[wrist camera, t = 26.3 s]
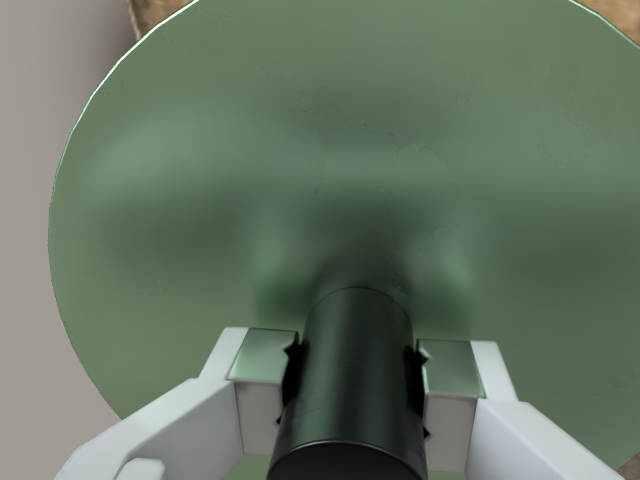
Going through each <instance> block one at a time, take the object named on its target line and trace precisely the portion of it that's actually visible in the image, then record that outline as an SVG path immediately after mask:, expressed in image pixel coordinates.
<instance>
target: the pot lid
mask: <svg viewBox="0 0 640 480" xmlns="http://www.w3.org/2000/svg"><path fill="white" fill-rule="evenodd" d="M48 252H49V261H50V270H51V280H52V285H53V289H54V292H55V297H56V301H57V305H58V308H59V313H60V316H61V319H62V321H63V324H64V327H65V329H66V332H67V334H68V337H69V339H70V342H71V344H72V347H73V349H74V350H75V352H76V354H77V356H78V358H79V360H80V361H81V364H82V365H83V367H84V369H85V371H86V373H87V374H88V376H89V378H90V379H91V381H92V382H93V384H94V385H95V386H96V388H97V389H98V391H99V392H100V394H101V395H102V396H103V398H104V399H105V401H106V402H107V403H108V405H109V406H110V407H111V408H112V409H113V410H114V411H115V413H116V414H117V415H118V416H119V417H120V418H121V419H122V420H123V419H125V418H127V417H128V416H130V415H131V414H133V413H135V412H136V411H138V410H140V409H141V408H143V407H144V406H146V405H148V404H149V403H151V402H152V401H154V400H156V399H157V398H159V397H160V396H162V395H164V394H165V393H167V392H169V391H170V390H172V389H173V388H175V387H177V386H178V385H180V384H181V383H183V382H185V381H186V380H188V379H189V378H198V377H199V375H200V373H201V371H202V369H203V367H204V366H205V364H206V362H207V360H208V358H209V356H210V354H211V352H212V350H213V349H214V347H215V345H216V343H217V341H218V339H219V337H220V335H221V334H222V332H223V330H224V329H225V328H226V327H228V326H237V327H250V328H252V327H254V328H266V329H279V330H291V331H298V333H299V340H300V347H299V351H298V355H297V359H296V363H295V367H294V371H293V374H292V378H291V382H290V386H289V390H288V394H287V398H286V402H285V406H284V410H283V414H282V417H281V421H280V425H279V429H278V433H277V437H276V441H275V445H274V449H273V453H272V456H265V455H249V454H243V458H242V459H241V460H240V461H239V462H238V463H237V464H236V465H235V466H234V467H233V468H232V469H231V470H230V471H229V472H228V473H227V474H226V475H225V476H224V477H223V479H222V480H467V479H466V478H465V475H464V474H456V473H447V472H439V471H431V470H427V460H426V451H425V441H424V432H423V424H422V416H421V406H420V397H419V385H418V377H417V369H416V359H415V346H416V340H417V338H421V339H440V340H459V341H468V340H482V341H495V342H496V343H497V344H498V346H499V349H500V352H501V354H502V357H503V360H504V362H505V365H506V367H507V370H508V373H509V375H510V378H511V381H512V383H513V386H514V388H515V391H516V394H517V396H518V399H519V401H521V402H528V403H530V404H531V405H532V406H533V407H535V408H536V409H537V410H539V411H540V412H541V413H542V414H544V415H545V416H546V417H547V418H549V419H550V420H551V421H552V422H554V423H555V424H556V425H557V426H559V427H560V428H561V429H562V430H564V431H565V432H566V433H568V434H569V435H570V436H571V437H573V438H574V439H575V440H576V441H578V442H579V443H580V444H581V445H583V446H584V447H585V448H586V449H588V450H589V451H590V452H591V453H593V454H594V455H595V456H597V457H598V458H599V459H600V460H602V461H603V462H604V463H605V464H607V465H608V466H609V467H610V468H612V469H613V470H614V471H615V470H617V469H618V468H619V467H621V466H622V465H623V464H624V463H625V462H627V461H628V460H629V459H630V458H632V457H633V456H634V455H635V454H636V453H638V452H639V451H640V45H638V44H637V43H636V42H635V41H633V40H632V39H631V38H630V37H628V36H627V35H626V34H625V33H623V32H622V31H621V30H620V29H618V28H617V27H616V26H615V25H613V24H612V23H611V22H610V21H608V20H607V19H606V18H605V17H603V16H602V15H601V14H600V13H598V12H596V11H595V10H593V9H591V8H589V7H587V6H586V5H584V4H582V3H580V2H578V1H576V0H192V1H191V2H189V3H187V4H186V5H184V6H183V7H181V8H180V9H178V10H177V11H175V12H174V13H172V14H171V15H169V16H168V17H166V18H165V19H163V20H162V21H160V22H159V23H157V24H156V25H155V26H154V27H153V28H152V29H151V30H149V31H148V32H147V33H146V34H145V35H144V36H143V37H142V38H141V39H140V40H139V41H138V42H136V43H135V44H134V45H133V46H132V47H131V48H130V49H129V50H128V51H127V52H126V53H125V54H123V55H122V56H121V57H120V58H119V60H118V61H117V62H116V63H115V65H114V66H113V67H112V69H111V70H110V71H109V72H108V74H107V75H106V76H105V78H104V79H103V80H102V81H101V83H100V84H99V85H98V86H97V88H96V89H95V90H94V91H93V93H92V94H91V96H90V98H89V100H88V102H87V103H86V105H85V107H84V109H83V111H82V112H81V114H80V116H79V118H78V120H77V121H76V123H75V125H74V127H73V129H72V131H71V132H70V135H69V138H68V140H67V143H66V146H65V149H64V151H63V154H62V157H61V160H60V163H59V165H58V168H57V171H56V176H55V181H54V187H53V192H52V197H51V203H50V208H49V228H48Z"/></svg>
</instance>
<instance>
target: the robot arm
mask: <svg viewBox="0 0 640 480" xmlns="http://www.w3.org/2000/svg"><path fill="white" fill-rule="evenodd" d="M299 347H300V340H299V333H298V331H291V330H279V329H266V328H254V327H252V328H250V327H237V326H228V327H226V328H225V329H224V330H223V332H222V334H221V335H220V337H219V339H218V341H217V343H216V345H215V347H214V349H213V350H212V352H211V354H210V356H209V358H208V360H207V362H206V364H205V366H204V367H203V369H202V371H201V373H200V375H199V377H198V378H189V379H188V380H186V381H185V382H183V383H181V384H180V385H178V386H177V387H175V388H173V389H172V390H170V391H169V392H167V393H165V394H164V395H162V396H160V397H159V398H157V399H156V400H154V401H152V402H151V403H149V404H148V405H146V406H144V407H143V408H141V409H140V410H138V411H136V412H135V413H133V414H131V415H130V416H128V417H127V418H125V419H123V420H122V421H120V422H119V423H117V424H115V425H114V426H112V427H111V428H109V429H107V430H106V431H104V432H103V433H101V434H99V435H98V436H96V437H94V438H93V439H91V440H90V441H88V442H87V443H85V444H83V445H82V446H80V447H78V448H77V449H75V451H74V452H73V454H72V455H71V456H70V458H69V459H68V460H67V462H66V463H65V464H64V466H63V467H62V468H61V470H60V471H59V473H58V474H57V475H56V477H55V478H54V479H53V480H222V479H223V477H224V476H225V475H226V474H227V473H228V472H229V471H230V470H231V469H232V468H233V467H234V466H235V465H236V464H237V463H238V462H239V461H240V460H241V459H242V458H243V454H249V455H265V456H272V453H273V449H274V445H275V441H276V437H277V433H278V429H279V425H280V421H281V417H282V414H283V410H284V406H285V402H286V398H287V394H288V390H289V386H290V382H291V378H292V374H293V371H294V367H295V363H296V359H297V355H298V351H299ZM415 359H416V369H417V377H418V385H419V397H420V406H421V416H422V424H423V432H424V441H425V451H426V460H427V470H431V471H439V472H447V473H456V474H464V475H465V478H466V479H467V480H626V479H624V478H623V477H622V476H621V475H619V474H618V473H617V472H615V471H614V470H613V469H612V468H610V467H609V466H608V465H607V464H605V463H604V462H603V461H602V460H600V459H599V458H598V457H597V456H595V455H594V454H593V453H591V452H590V451H589V450H588V449H586V448H585V447H584V446H583V445H581V444H580V443H579V442H578V441H576V440H575V439H574V438H573V437H571V436H570V435H569V434H568V433H566V432H565V431H564V430H562V429H561V428H560V427H559V426H557V425H556V424H555V423H554V422H552V421H551V420H550V419H549V418H547V417H546V416H545V415H544V414H542V413H541V412H540V411H539V410H537V409H536V408H535V407H533V406H532V405H531V404H530V403H528V402H521V401H519V399H518V396H517V394H516V391H515V388H514V386H513V383H512V381H511V378H510V375H509V373H508V370H507V367H506V365H505V362H504V360H503V357H502V354H501V352H500V349H499V346H498V344H497V343H496V342H495V341H482V340H468V341H459V340H440V339H421V338H417V340H416V346H415Z"/></svg>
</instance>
